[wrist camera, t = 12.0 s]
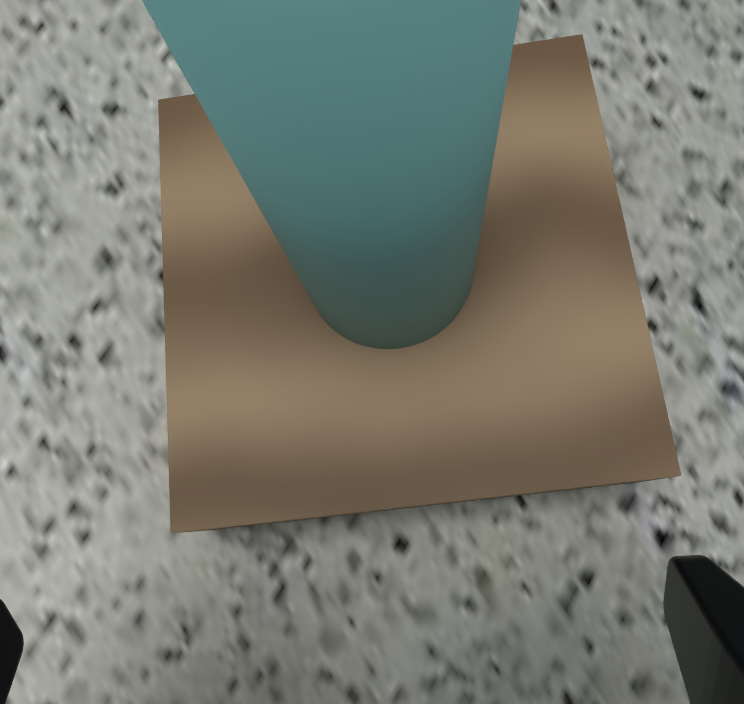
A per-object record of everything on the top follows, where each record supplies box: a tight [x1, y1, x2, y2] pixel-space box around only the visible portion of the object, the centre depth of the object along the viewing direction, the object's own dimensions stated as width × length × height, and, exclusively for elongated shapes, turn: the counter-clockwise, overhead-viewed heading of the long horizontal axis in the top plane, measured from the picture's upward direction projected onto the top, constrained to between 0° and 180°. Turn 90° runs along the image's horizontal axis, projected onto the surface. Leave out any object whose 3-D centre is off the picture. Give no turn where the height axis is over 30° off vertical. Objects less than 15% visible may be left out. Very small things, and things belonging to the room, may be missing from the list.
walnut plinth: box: [158, 34, 681, 533], centre depth 21 cm, size 14×14×4 cm
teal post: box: [142, 0, 521, 349], centre depth 13 cm, size 5×5×13 cm
